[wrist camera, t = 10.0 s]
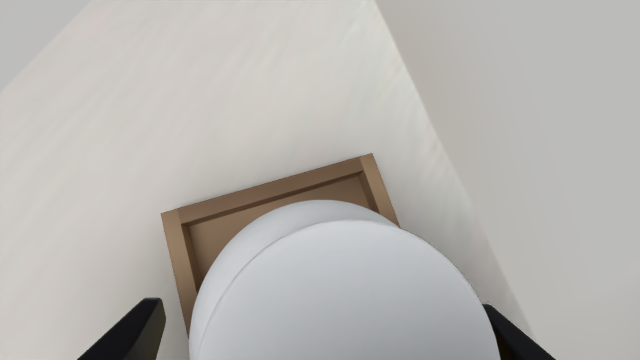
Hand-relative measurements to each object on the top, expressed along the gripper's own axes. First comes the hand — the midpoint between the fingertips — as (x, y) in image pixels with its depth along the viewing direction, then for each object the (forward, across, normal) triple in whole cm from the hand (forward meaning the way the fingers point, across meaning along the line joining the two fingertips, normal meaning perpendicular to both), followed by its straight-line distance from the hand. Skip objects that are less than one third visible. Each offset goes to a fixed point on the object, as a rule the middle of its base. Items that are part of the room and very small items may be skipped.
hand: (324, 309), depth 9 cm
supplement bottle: (+6, 0, +6) cm, 8 cm away
